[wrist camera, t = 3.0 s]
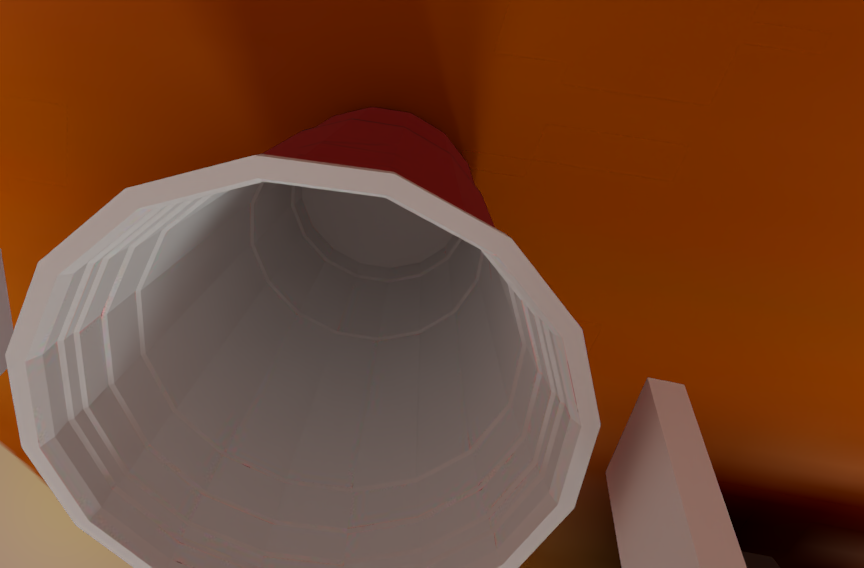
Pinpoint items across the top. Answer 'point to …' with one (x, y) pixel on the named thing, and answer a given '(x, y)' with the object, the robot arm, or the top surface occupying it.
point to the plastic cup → (305, 365)
